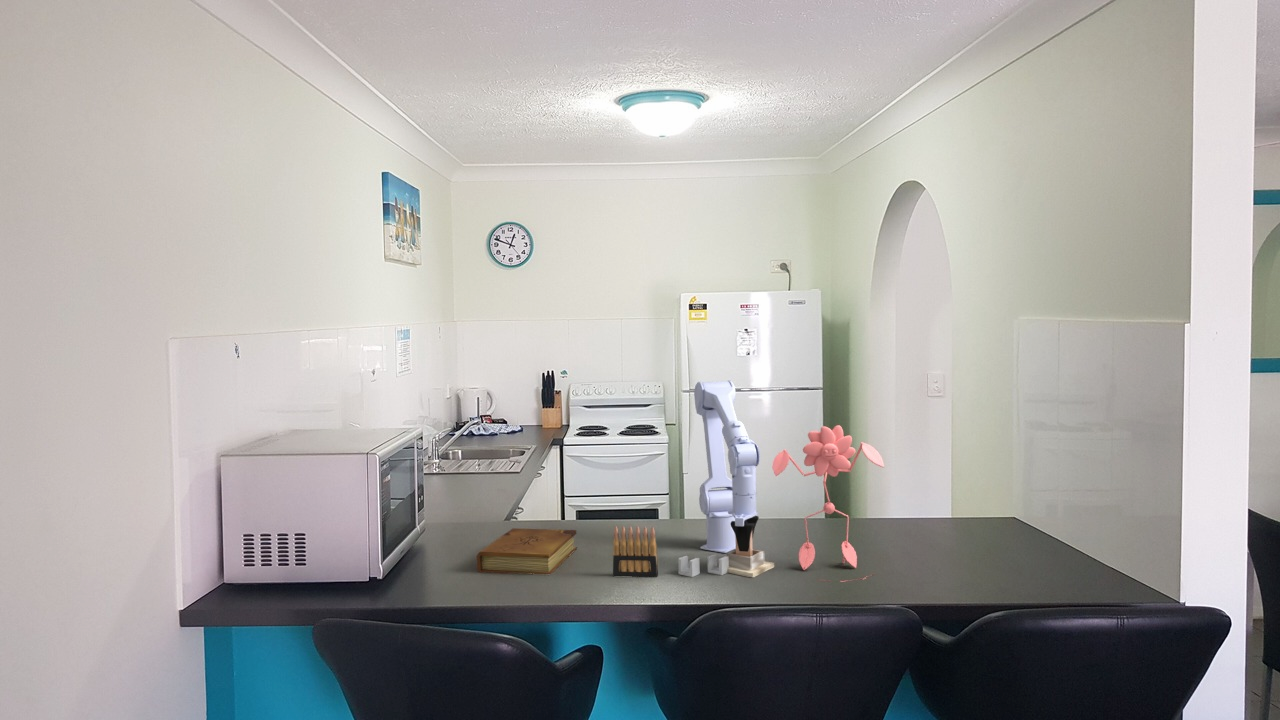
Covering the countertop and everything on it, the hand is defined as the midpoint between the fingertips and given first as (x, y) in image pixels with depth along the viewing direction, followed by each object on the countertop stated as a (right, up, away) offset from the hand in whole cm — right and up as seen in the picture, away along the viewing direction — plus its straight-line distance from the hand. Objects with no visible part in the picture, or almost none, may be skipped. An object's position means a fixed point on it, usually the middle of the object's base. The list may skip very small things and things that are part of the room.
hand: (745, 548), depth 207 cm
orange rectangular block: (0, -2, 0) cm, 2 cm away
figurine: (+20, -5, -4) cm, 21 cm away
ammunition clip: (-27, -6, -3) cm, 27 cm away
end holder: (0, -5, 0) cm, 5 cm away
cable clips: (-10, -5, -2) cm, 12 cm away
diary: (-54, -6, +13) cm, 56 cm away
